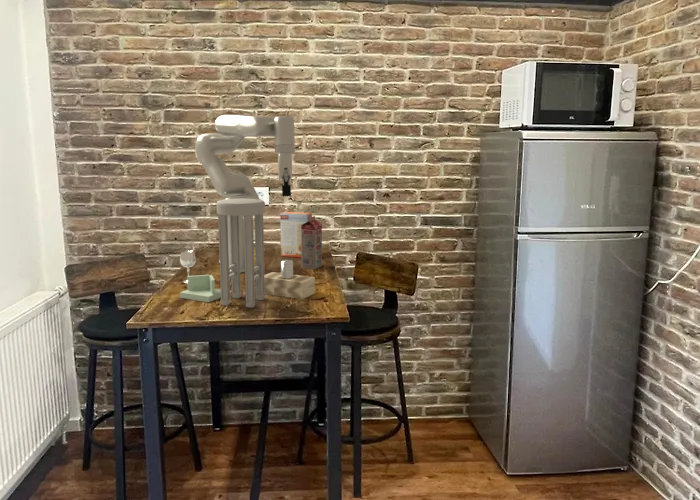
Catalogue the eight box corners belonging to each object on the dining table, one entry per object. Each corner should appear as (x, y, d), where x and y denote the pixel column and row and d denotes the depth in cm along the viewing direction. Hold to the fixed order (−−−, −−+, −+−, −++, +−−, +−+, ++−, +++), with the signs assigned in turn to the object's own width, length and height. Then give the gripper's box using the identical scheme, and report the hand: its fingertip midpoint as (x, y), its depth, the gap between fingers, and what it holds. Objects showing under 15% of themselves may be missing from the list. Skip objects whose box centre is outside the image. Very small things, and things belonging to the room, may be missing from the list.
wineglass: (182, 283, 225) (181, 253, 223) (179, 280, 230) (178, 250, 228) (197, 282, 228) (196, 252, 225) (194, 279, 233) (193, 249, 230)
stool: (272, 297, 208) (270, 199, 201) (256, 309, 193) (253, 204, 186) (232, 294, 211) (229, 197, 204) (212, 306, 196) (208, 202, 190)
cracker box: (312, 256, 278) (312, 212, 274) (307, 258, 272) (307, 214, 268) (286, 254, 282) (285, 211, 278) (280, 256, 277) (279, 212, 273)
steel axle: (278, 293, 212) (278, 261, 210) (285, 291, 216) (284, 259, 214) (289, 295, 211) (288, 262, 208) (295, 292, 214) (295, 260, 212)
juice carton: (301, 267, 254) (301, 217, 250) (308, 264, 260) (308, 215, 256) (315, 268, 252) (315, 218, 248) (321, 265, 258) (321, 216, 254)
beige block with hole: (259, 293, 213) (259, 277, 212) (273, 287, 221) (272, 271, 220) (302, 299, 206) (302, 282, 205) (314, 293, 214) (314, 277, 213)
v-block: (198, 291, 214) (197, 272, 213) (225, 295, 209) (224, 276, 208) (180, 297, 206) (179, 278, 205) (208, 302, 201) (207, 282, 200)
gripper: (275, 149, 229) (276, 193, 232) (274, 150, 212) (276, 197, 215) (294, 149, 230) (295, 193, 233) (295, 149, 213) (296, 196, 216)
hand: (286, 195), depth 224 cm, fingers open, 9 cm apart
